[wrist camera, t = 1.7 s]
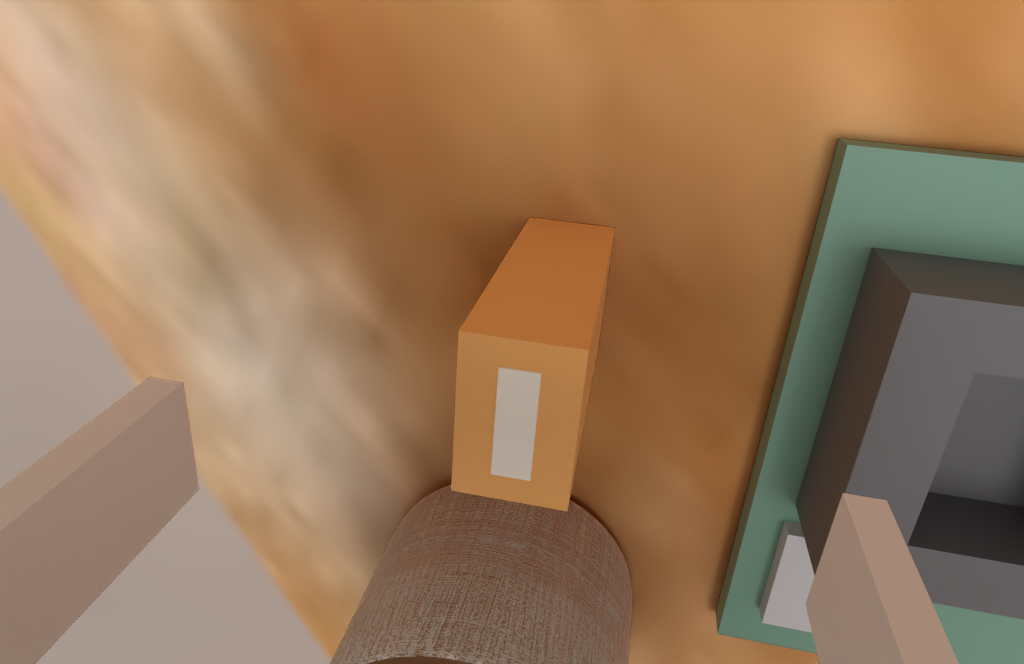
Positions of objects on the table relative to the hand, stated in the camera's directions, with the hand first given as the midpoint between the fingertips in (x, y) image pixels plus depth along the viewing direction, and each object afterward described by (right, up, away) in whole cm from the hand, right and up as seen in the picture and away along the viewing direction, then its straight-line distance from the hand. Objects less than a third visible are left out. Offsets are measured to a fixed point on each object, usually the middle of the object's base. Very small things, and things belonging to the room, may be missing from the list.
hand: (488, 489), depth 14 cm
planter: (0, -7, +18) cm, 20 cm away
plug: (+2, +5, +12) cm, 13 cm away
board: (+16, -1, +12) cm, 20 cm away
